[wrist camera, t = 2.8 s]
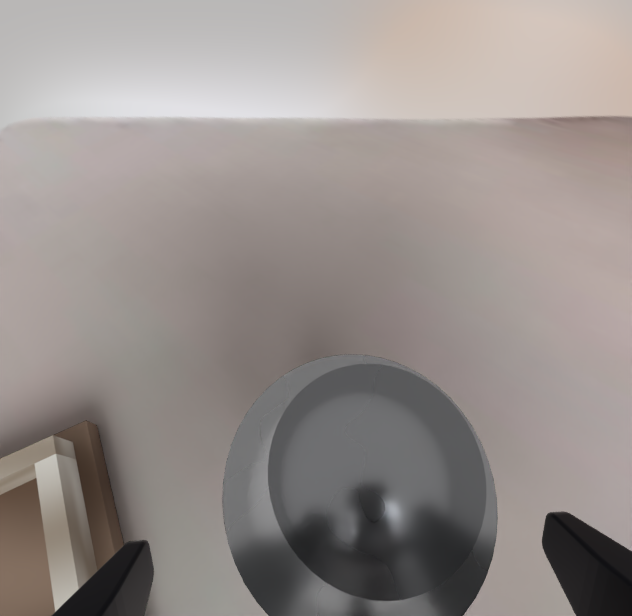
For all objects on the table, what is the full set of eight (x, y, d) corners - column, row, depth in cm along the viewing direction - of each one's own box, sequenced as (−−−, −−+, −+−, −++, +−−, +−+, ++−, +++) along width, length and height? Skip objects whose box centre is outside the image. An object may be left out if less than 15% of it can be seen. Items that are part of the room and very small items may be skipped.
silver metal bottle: (366, 598, 15) (548, 827, 4) (252, 543, 16) (113, 591, 4) (399, 470, 17) (574, 371, 6) (299, 429, 18) (284, 272, 7)
